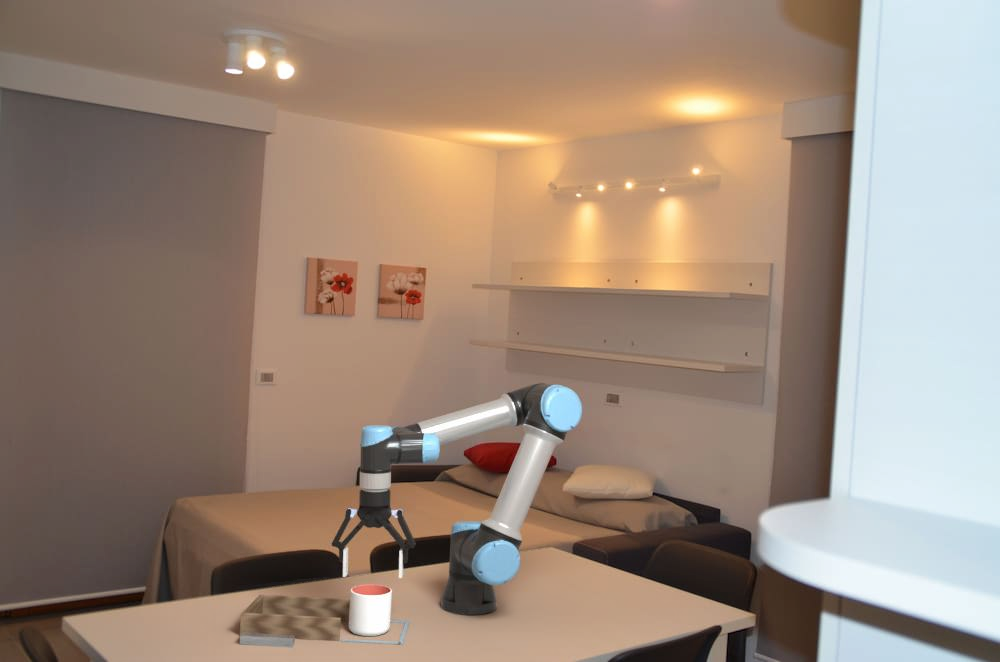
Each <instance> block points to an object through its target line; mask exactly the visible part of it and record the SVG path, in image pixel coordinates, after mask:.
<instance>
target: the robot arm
mask: <svg viewBox="0 0 1000 662" xmlns="http://www.w3.org/2000/svg"><path fill="white" fill-rule="evenodd" d="M582 416H583V405H582V402H581V400H580V398H579V396H578V394H577V393H576V392H575V391H574V390H573V389H571V388H569V387H567V386H563V385H560V384H550V383H549V384H548V383H543V382H541V383H540V382H539V383H534V384H530V385H527V386H524V387H520V388H518V389H515V390H512V391H509V392H505V393H503V394H502V395H501V396H500V398H498V399H495V400H491V401H488V402H485V403H482V404H478V405H474V406H473V405H472V406H470V407H468V408H464V409H459V410H457V411H453V412H450V413H447V414H443V415H439V416H436V417H433V418H430V419H426V420H423V421H419V422H416V423H413V424H412V423H411V424H409V425H405V426H401V425H399V426H393V427H392V426H390V425H383V424H382V425H381V424H374V425H373V424H372V425H365V426H364V427H362V429H361V435H360V443H359V445H360V467H359V469H360V470H359V488H361V489H360V490H359V496H358V497H359V500H358V503H359V504H358V505H359V506H358V508H357V509H356V508H352V507H351V506H349V507H348V508H347V509H346V510H345V516H344V519H343V521H342V523H341V525H340V527H339V529H338V530H337V533H336V534H335V536H334V538H333V540H332V542H331V547H335V548H338V562H339V563H342V577H343V578H346V577H347V576H348V574H349V547H348V546H347V545H348V544H349V543H350V541H352V539H353V538H354V537H355V536H356V535H357V534H358V532H360V530H362V528H363V527H366V528H369V529H372V528H376V529H380V528H382V527H383V528H384V529H385V530H386V531H387V532H388V533H389V535H390V536H391V537H392V538H393V540H395V542H396V544H397V545H399V547H400V549H399V553H398V554H399V556H398V579H402V578H403V576H404V564H407V563H408V561H409V550H411V549H414V548H415V547H416V540H415V539H414V536H413V534H412V532H411V529H410V528H409V526H408V523H407V521H406V519H405V518H404V510H403V508H402V507H401V508H399V509H391V492H392V491H391V490H390V488H391V485H392V483H391V482H392V465H398V464H399V465H401V464H403V465H404V464H407V465H408V464H423V465H425V464H432V463H435V462H437V460H438V459H439V456H440V453H441V452H440V450H441V449H440V448H441V446H442V445H443V446H444V445H446V444H449V443H453V442H455V441H459V440H463V439H466V438H469V437H472V436H475V435H479V434H483V433H486V432H489V431H492V430H493V431H494V430H496V429H499V428H503V427H506V426H508V427H510V428H516V427H519V426H522V428H523V430H524V432H525V433H524V436H523V438H522V440H521V442H520V445H519V446H518V447H519V448H518V450H517V452H516V454H515V457H514V460H513V461H512V464H511V466H510V469H509V471H508V473H507V476H506V477H505V481H504V483H503V486H502V488H501V491H500V492H499V494H498V497H497V499H496V501H495V504H494V507H493V509H492V511H491V513H490V516H489V518H487V519H484V520H482V521H479V520H476V521H475V520H472V521H471V520H469V521H468V520H467V521H465V520H464V521H456V522H454V523H453V524H452V525H451V531H450V535H449V536H450V544H449V545H450V546H449V547H450V548H449V565H448V569H449V570H448V578H447V582H446V583H445V587H444V589H443V592H442V594H441V596H440V597H441V598H440V607H441V608H442V609H443V610H445V611H447V612H450V613H453V614H456V615H457V614H458V615H466V616H468V615H469V616H471V615H472V616H476V615H485V614H490V613H493V612H494V611H496V609H497V595H496V592H495V589H494V586H500V585H503V584H505V583H506V584H507V583H508V582H510V581H511V580H512V579H513V578H514V577H515V576H516V575H517V574H518V571H519V569H520V566H521V557H520V552H519V550H520V548H521V545H522V543H523V536H522V534H521V529H522V527H523V525H524V522H525V520H526V517H527V515H528V513H529V510H530V508H531V505H532V503H533V500H534V498H535V496H536V493H537V491H538V489H539V486H540V484H541V481H542V479H543V477H544V474H545V472H546V470H547V467H548V464H549V462H550V460H551V457H552V455H553V452H554V450H555V448H556V446H558V445H560V444H562V443H564V441H565V439H566V437H567V435H568V432H569V431H572V430H573V429H575V428H576V427H577V426H578V425H579V423H580V421H581V419H582ZM355 515H357V517H358V518H359V520H360V521H358V524H356V525H355V527H354V528H353V529H352V530H351V532H350V533H349V534H348V535H347V536H346V537H345V538H344V539H343V541H340V540H341V538H342V536H343V534H344V533H345V530H346V529H347V527H348V525H349V523H350V521H351V519H353V518H354V517H355ZM392 516H393V517H394V519H396V520H397V522H398V524H399V527H400V528H401V531H402V533H403V534H404V537H405V539H404V538H403V537H402V535H401V534H400V533H399V532H398V530H397V529H396V528H395V527H394V525H393V524H392V522H391V521H390V520H389V519H390V518H391V517H392ZM346 546H347V547H346Z"/></svg>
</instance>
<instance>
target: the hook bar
mask: <svg viewBox="0 0 1000 662" xmlns="http://www.w3.org/2000/svg"><path fill="white" fill-rule="evenodd" d="M295 641H296V639H295V636H293V635H274V634H256V633H254V630H245V631H244V632H243V633H242V634H241V635H240V634H239V646H241V645H242V646H243V645H244V646H261V647H262V646H263V647H276V648H277V647H278V648H282V647H283V648H293V647H294V646H295V644H296V643H295Z"/></svg>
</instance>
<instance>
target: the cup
mask: <svg viewBox="0 0 1000 662" xmlns="http://www.w3.org/2000/svg"><path fill="white" fill-rule="evenodd" d="M349 594H350V596H349V597H350V598H349V599H350V610H349V621H348V629H349V631H350V632H352V633H353V634H354V635H356V636H357V635H358V636H362V637H377V636H381V635H384V634H386V633H387V632H388V631H389V630H390V627H391V622H390V620H391V613H392V596H393V595H392V594H393V590H392V589H391V588H390V587H389V586H386V585H381V584H361V585H360V584H359V585H355V586H353V587H351V589H350V593H349Z"/></svg>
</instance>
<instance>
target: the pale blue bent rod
mask: <svg viewBox="0 0 1000 662" xmlns="http://www.w3.org/2000/svg"><path fill="white" fill-rule="evenodd" d="M390 623H396V624H397V623H401V624H404V625H403V628H402V632H401V634H400V636H399V640H398V641H391V640H390V641H384V640H368V639H367V640H366V639H349V638H340V642H345V643H365V644H383V645H400V646H401V645H403V644H404V641H405V637H406V635H407V633H408V632H407V631H408V628H409V625H410V620H399V619H398V620H397V619H396V620H395V619H390Z"/></svg>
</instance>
